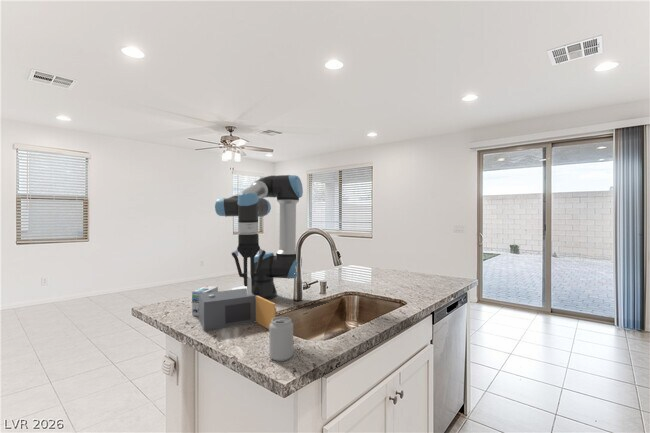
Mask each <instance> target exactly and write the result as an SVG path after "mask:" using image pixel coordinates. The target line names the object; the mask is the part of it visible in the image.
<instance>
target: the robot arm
mask: <svg viewBox="0 0 650 433" xmlns="http://www.w3.org/2000/svg"><path fill="white" fill-rule="evenodd" d="M303 193H304V190H303V183H302V180H301V178H300V177H299V175H295V174H293V175H292V174H287V175H286V174H285V175H284V174H283V175H282V174H281V175H268V176H265V177H261V178H259V179H257V180H254V181H253V182H252V183H251V185H250V186H249V187H246V188H244V189H243V190H241V191H240V192H237V193H235V194H233V195H231V196H229V197H227V198H225V197H222V198H218V199H217V200H216V201H215V204H214V209H215V210H214V211H215V213H216V214H217V216H219V217H225V218H227V217H238V218H237V221H238V222H237V230H238V232H237V233H239V234H238V238H237V239H238V242H237V243H238V245H237V248H236V250H234V251H232V252H231V256H232V257H233V259H234V263H235V265H236V270H237V272H238V273H237V274H238V276H239V277H240V278H243V285H244V287H246V289H247V295H252V294H254V295H255V296H256V295H258V296H260V297H262V298H264V299H266V300H272V299H276V298H277V296H278V293H277V289H276V286H275V282H274V279H277V278H278V279H279V278H280V279H287V280H289V279H290V280H291V279H297V278H298V277H297V272H296V269H295V266H297V262H296V251H297V249H296V244H297V241H296V240H297V238H296V237H297V236H296V234H297V225H296V224H297V204H298V203H299V202H300V198H302V197H303ZM266 198H276V202H278V204H279V226H278V227H279V229H278V230H279V231H278V232H279V235H278V237H279V238H278V239H279V240H278V242H279V243H278V244H279V246H278V250H277V251H276V252H275V254H274V252H266V251H265V249H262V248H261V247H260V243H259V234H258V233H259V218H260V217H261V218H262V217H266V216H268V215H269V213H270V212H271V209H272V207H271V203H270V201H269V200H267V199H266ZM239 254H240V255H241V257H242V258H243V259H242V260H243V261H242V262H243V271H242V268H241V264H240V260H239V257H238V256H239ZM248 258H250V259H249V261H250V262H249V264H250V267H249V268H250V270H249V272H250V273H249V274H250V276H248ZM302 266H303V259H302V257H301V267H302ZM294 273H295V274H294ZM296 277H297V278H296Z"/></svg>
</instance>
